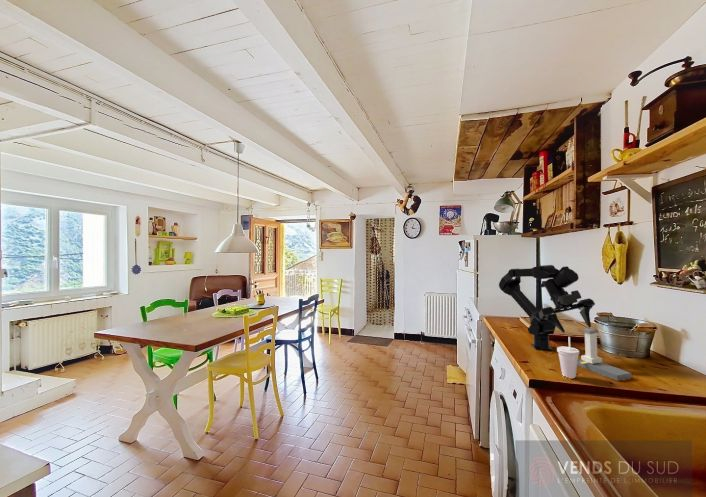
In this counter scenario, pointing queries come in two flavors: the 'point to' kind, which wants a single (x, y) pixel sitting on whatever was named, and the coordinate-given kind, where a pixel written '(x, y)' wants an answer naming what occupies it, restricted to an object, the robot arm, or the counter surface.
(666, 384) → the counter surface
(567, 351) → the smoothie
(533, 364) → the counter surface
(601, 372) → the grey flat slab
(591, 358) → the white pillar
